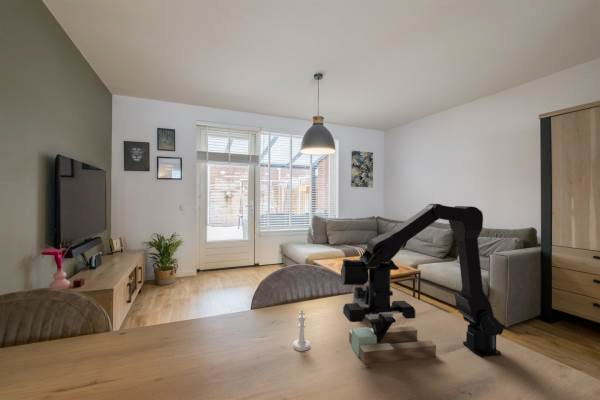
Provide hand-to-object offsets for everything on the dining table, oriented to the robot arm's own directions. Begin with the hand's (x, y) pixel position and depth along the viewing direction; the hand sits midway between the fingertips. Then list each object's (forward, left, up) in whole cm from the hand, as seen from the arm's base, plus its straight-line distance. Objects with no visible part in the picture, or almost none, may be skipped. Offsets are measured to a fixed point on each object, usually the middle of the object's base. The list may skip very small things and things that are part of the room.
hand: (378, 341), depth 73 cm
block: (+4, 0, -2) cm, 5 cm away
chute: (-4, 0, -2) cm, 4 cm away
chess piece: (+20, -5, -2) cm, 21 cm away
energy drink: (-4, -21, -2) cm, 21 cm away
